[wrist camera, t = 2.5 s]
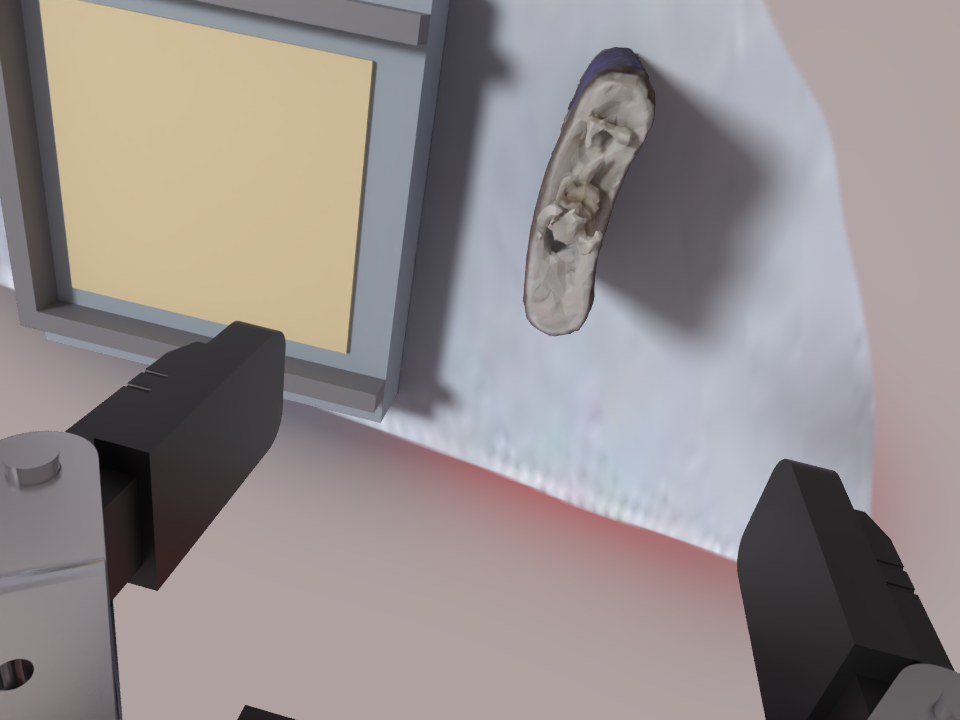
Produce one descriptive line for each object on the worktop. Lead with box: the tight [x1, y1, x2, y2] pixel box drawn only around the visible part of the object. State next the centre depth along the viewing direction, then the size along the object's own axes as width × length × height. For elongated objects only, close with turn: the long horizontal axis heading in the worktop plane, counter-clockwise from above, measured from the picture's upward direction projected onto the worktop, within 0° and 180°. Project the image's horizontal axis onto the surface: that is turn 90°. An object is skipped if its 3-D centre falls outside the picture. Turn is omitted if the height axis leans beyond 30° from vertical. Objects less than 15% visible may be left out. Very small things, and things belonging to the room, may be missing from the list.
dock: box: [0, 0, 450, 423], centre depth 32 cm, size 20×18×4 cm
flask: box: [523, 47, 655, 336], centre depth 26 cm, size 9×3×11 cm, turn 167°
